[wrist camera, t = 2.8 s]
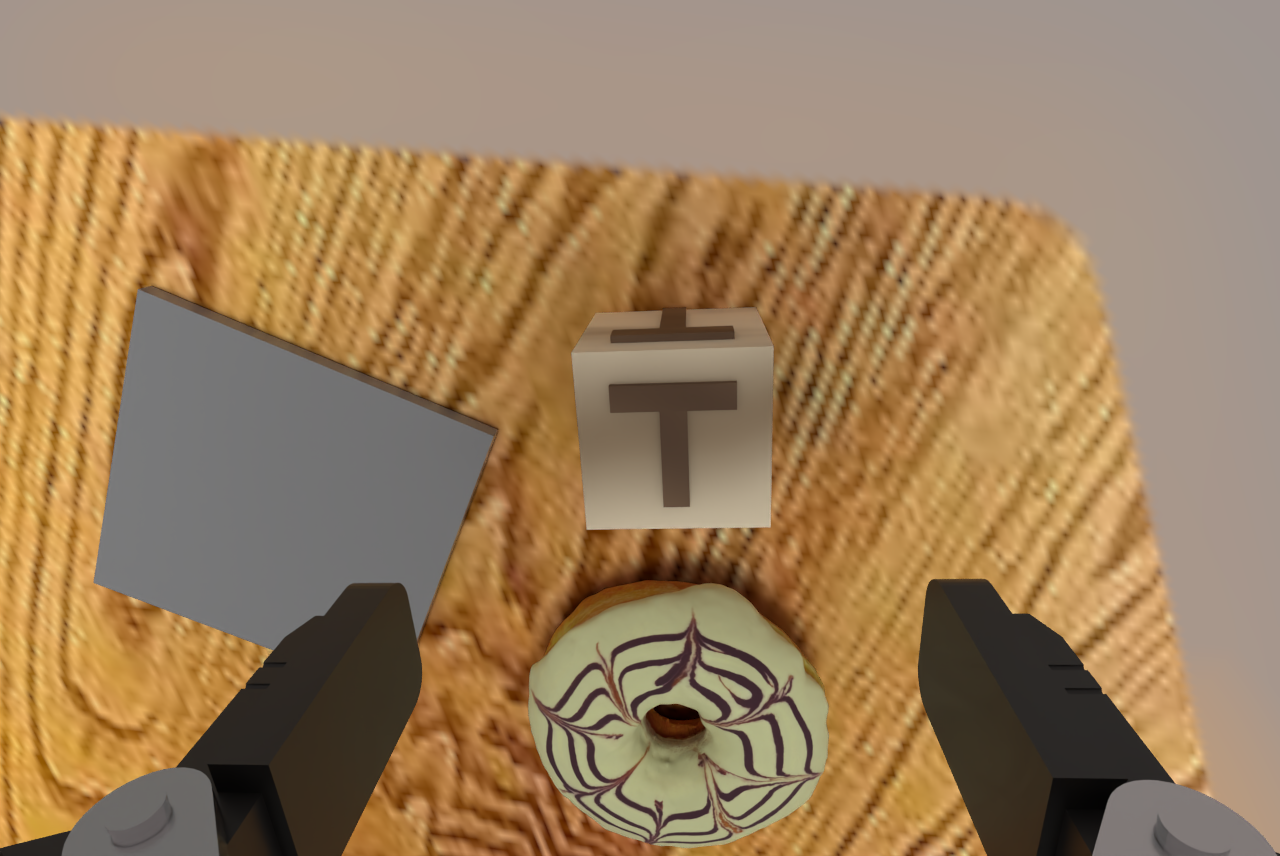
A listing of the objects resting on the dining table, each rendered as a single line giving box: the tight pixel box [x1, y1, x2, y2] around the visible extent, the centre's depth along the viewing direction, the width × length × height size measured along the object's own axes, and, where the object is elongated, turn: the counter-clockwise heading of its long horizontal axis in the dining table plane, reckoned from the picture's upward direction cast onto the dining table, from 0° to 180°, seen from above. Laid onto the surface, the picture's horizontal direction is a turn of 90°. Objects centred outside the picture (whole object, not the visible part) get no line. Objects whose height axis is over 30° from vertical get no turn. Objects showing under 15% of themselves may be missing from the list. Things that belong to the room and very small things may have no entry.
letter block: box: [571, 307, 774, 530], centre depth 20 cm, size 5×5×5 cm
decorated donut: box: [528, 580, 829, 848], centre depth 25 cm, size 10×11×4 cm
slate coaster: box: [94, 286, 498, 650], centre depth 25 cm, size 12×12×1 cm
